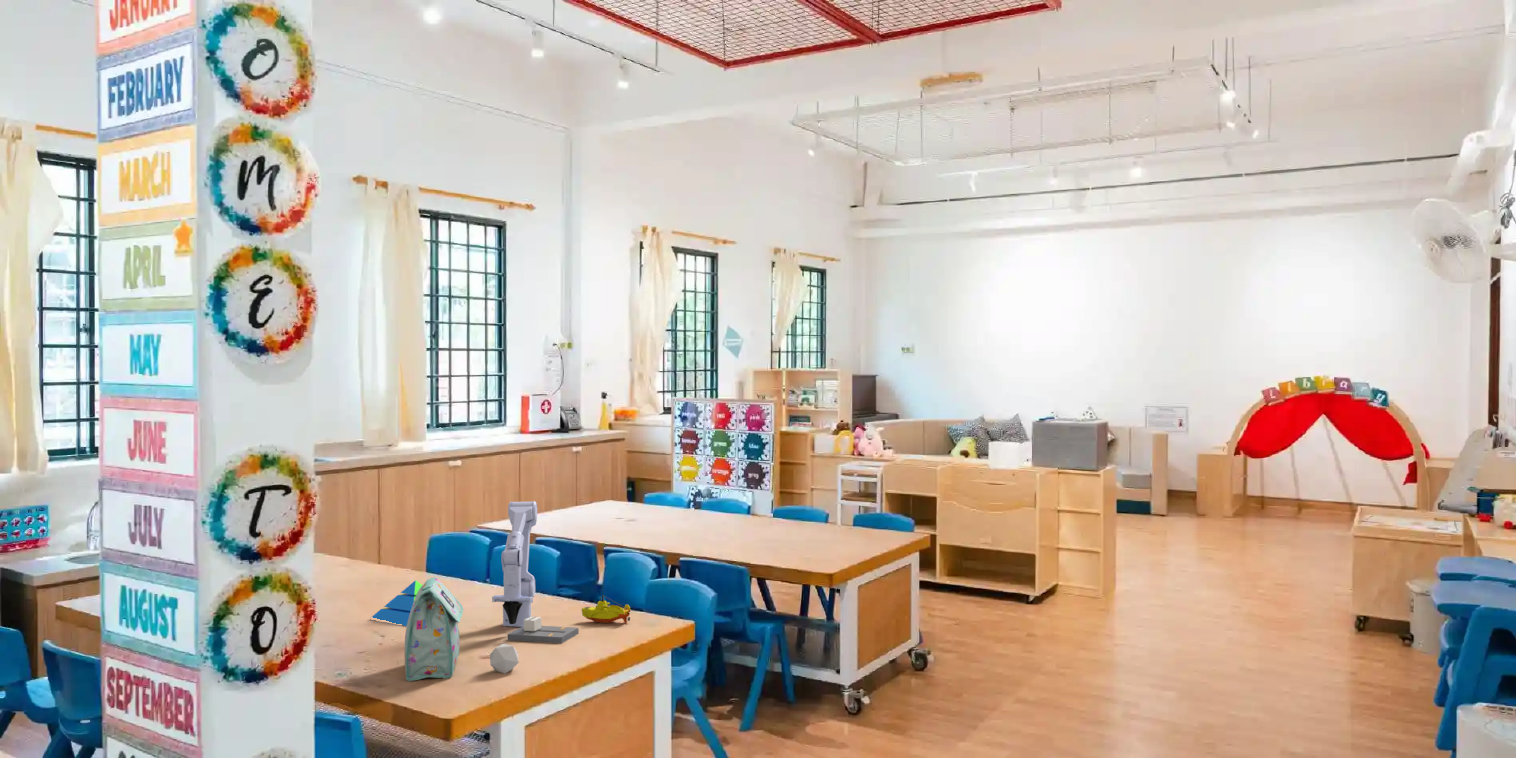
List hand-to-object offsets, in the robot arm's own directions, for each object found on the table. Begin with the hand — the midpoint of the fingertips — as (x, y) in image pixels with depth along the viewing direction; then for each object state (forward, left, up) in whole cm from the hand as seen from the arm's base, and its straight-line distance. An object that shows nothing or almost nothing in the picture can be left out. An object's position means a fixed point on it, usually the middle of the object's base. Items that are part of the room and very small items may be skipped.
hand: (512, 623), depth 341 cm
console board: (+11, 0, -4) cm, 12 cm away
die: (+18, -39, -4) cm, 43 cm away
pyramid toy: (-50, +17, -5) cm, 53 cm away
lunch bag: (-4, -42, -4) cm, 42 cm away
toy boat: (+24, +23, -4) cm, 34 cm away
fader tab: (+7, 0, -2) cm, 8 cm away
